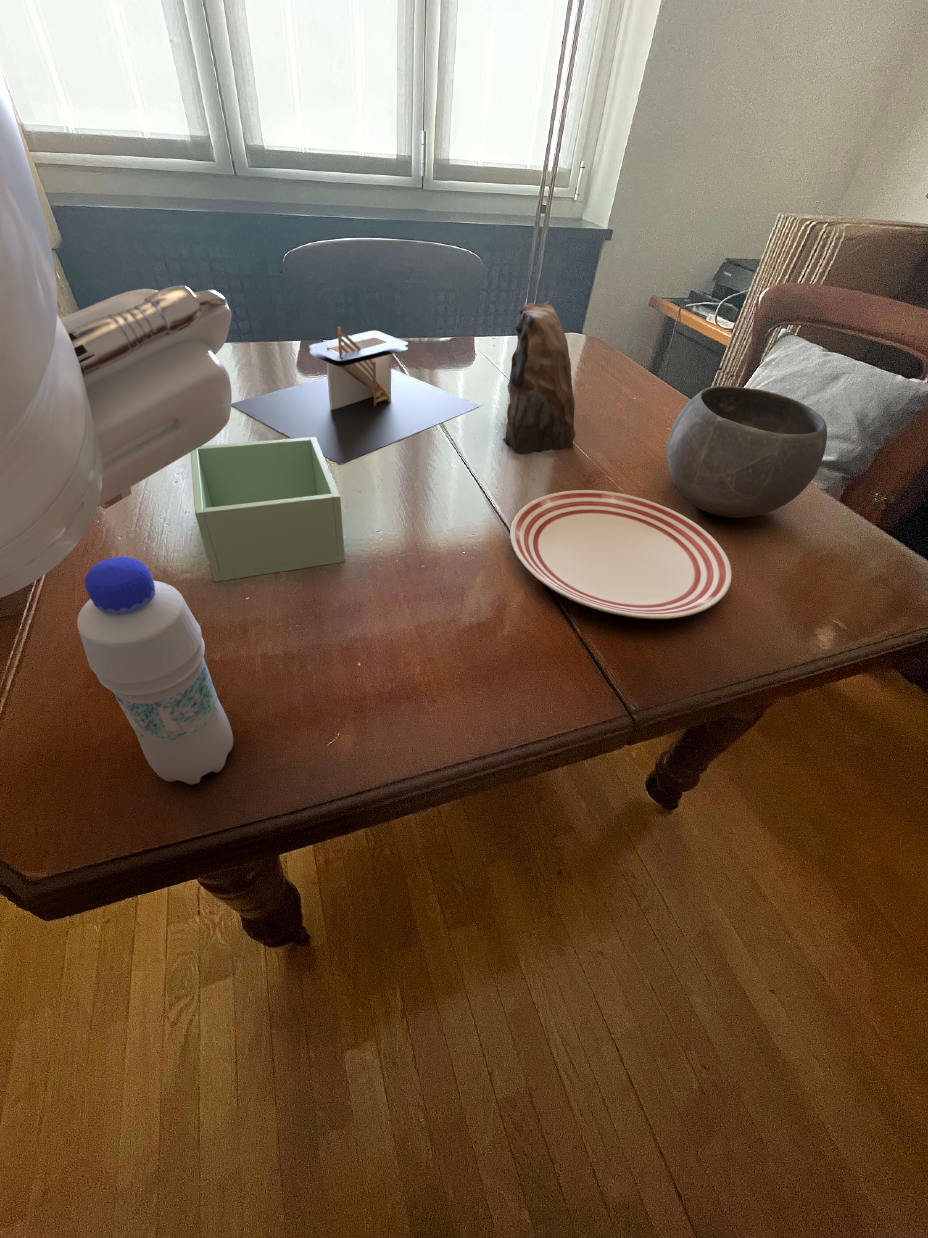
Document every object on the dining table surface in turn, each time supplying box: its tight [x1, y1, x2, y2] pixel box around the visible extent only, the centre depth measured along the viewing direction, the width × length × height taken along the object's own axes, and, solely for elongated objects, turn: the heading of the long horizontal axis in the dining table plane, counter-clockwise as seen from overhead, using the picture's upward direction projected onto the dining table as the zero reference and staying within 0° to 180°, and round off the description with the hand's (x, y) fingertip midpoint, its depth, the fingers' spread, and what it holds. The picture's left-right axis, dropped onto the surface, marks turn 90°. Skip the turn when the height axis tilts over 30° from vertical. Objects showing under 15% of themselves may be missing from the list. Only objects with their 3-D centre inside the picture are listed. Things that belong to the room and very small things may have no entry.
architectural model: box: [231, 326, 481, 465], centre depth 94 cm, size 35×28×14 cm
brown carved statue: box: [502, 300, 576, 455], centre depth 89 cm, size 13×13×20 cm
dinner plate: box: [509, 489, 732, 620], centre depth 69 cm, size 28×27×3 cm
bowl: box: [666, 385, 828, 519], centre depth 79 cm, size 20×20×15 cm
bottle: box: [76, 556, 234, 785], centre depth 38 cm, size 7×7×20 cm
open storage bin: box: [190, 437, 346, 583], centre depth 65 cm, size 15×15×9 cm
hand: (11, 543), depth 25 cm, fingers open, 8 cm apart
